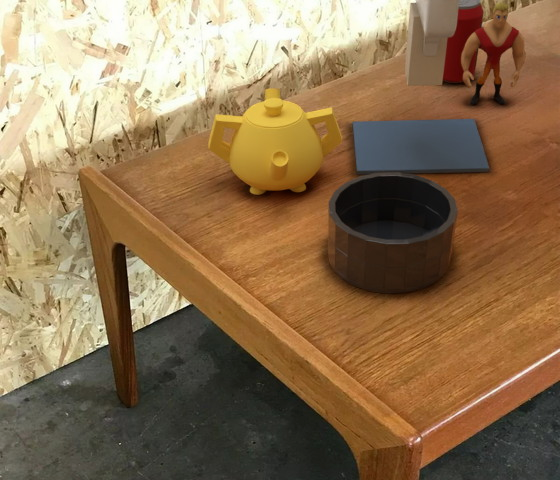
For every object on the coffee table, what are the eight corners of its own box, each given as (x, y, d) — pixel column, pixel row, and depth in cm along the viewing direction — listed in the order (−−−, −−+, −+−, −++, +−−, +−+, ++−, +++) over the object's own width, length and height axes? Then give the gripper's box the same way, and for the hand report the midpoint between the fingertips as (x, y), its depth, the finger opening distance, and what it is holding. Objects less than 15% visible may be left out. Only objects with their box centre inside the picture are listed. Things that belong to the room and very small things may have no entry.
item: (437, 70, 108) (445, 1, 101) (442, 85, 105) (450, 15, 98) (404, 71, 108) (410, 2, 102) (407, 86, 105) (413, 16, 98)
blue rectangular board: (473, 122, 118) (474, 118, 118) (489, 172, 108) (489, 168, 108) (352, 125, 119) (352, 121, 119) (356, 174, 109) (357, 170, 109)
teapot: (350, 215, 102) (352, 135, 94) (211, 223, 102) (202, 144, 94) (333, 138, 116) (334, 63, 108) (212, 145, 116) (204, 71, 108)
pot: (442, 219, 101) (448, 171, 96) (457, 292, 90) (465, 242, 85) (327, 221, 101) (327, 173, 96) (329, 294, 91) (330, 244, 86)
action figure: (457, 107, 122) (470, 6, 111) (454, 96, 124) (467, -4, 114) (519, 106, 121) (539, 5, 110) (516, 95, 124) (534, -5, 113)
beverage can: (482, 75, 129) (494, -2, 121) (458, 89, 126) (468, 11, 117) (448, 63, 133) (456, -12, 124) (423, 77, 129) (431, 1, 121)
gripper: (479, -44, 86) (462, 79, 96) (454, -99, 100) (441, 13, 110) (420, -43, 86) (409, 80, 96) (404, -97, 101) (396, 14, 110)
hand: (426, 44), depth 103 cm, fingers closed on item, 4 cm apart
